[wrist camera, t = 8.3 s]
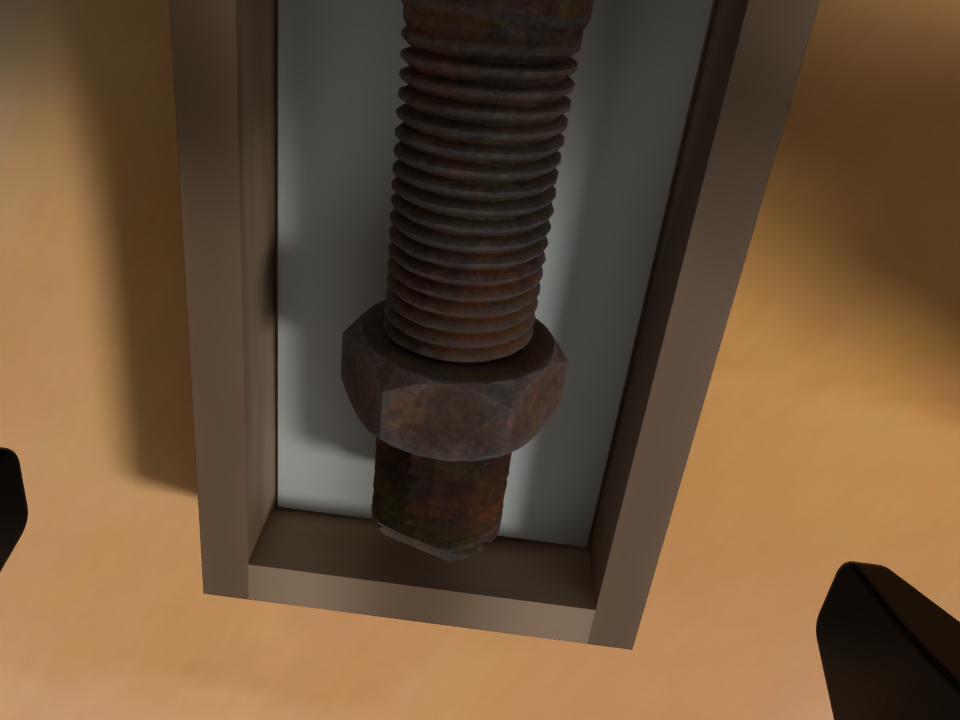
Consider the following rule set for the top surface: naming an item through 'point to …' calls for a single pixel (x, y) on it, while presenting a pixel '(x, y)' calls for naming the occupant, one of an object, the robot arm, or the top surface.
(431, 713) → the top surface
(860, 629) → the robot arm
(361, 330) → the bolt
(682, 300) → the wooden tray
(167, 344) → the top surface
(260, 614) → the top surface
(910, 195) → the top surface
